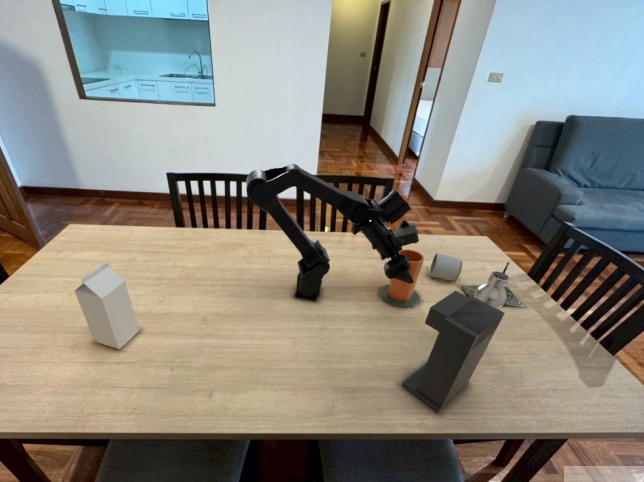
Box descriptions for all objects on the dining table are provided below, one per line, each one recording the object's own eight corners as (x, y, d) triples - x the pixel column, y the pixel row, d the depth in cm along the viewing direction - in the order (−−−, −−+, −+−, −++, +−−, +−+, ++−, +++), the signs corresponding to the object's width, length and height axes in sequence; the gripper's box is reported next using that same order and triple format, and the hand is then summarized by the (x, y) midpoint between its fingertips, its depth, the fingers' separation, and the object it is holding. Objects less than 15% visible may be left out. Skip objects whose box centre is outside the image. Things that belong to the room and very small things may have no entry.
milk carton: (139, 331, 87) (120, 265, 76) (119, 350, 82) (95, 282, 70) (115, 323, 89) (93, 258, 77) (94, 342, 83) (67, 274, 72)
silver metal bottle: (470, 354, 86) (504, 287, 74) (449, 336, 91) (477, 271, 79) (488, 346, 89) (523, 280, 77) (466, 329, 93) (496, 265, 81)
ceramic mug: (456, 286, 110) (464, 264, 105) (429, 280, 111) (436, 259, 107) (453, 269, 118) (461, 249, 114) (428, 264, 120) (435, 244, 115)
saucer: (378, 303, 101) (379, 300, 101) (382, 282, 110) (382, 280, 109) (418, 311, 99) (419, 309, 98) (418, 289, 107) (419, 287, 107)
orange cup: (398, 303, 100) (410, 264, 92) (383, 290, 105) (392, 252, 97) (416, 297, 103) (429, 259, 95) (400, 285, 107) (411, 247, 100)
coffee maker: (399, 384, 78) (425, 310, 65) (430, 359, 84) (459, 287, 71) (437, 413, 72) (474, 338, 59) (467, 385, 78) (506, 311, 66)
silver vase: (505, 286, 111) (524, 249, 103) (524, 307, 103) (546, 268, 95) (460, 286, 110) (475, 249, 102) (475, 307, 102) (493, 267, 94)
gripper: (410, 232, 82) (444, 276, 88) (400, 202, 97) (429, 242, 103) (370, 258, 87) (404, 298, 93) (366, 226, 102) (396, 262, 108)
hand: (409, 273), depth 99 cm, fingers open, 9 cm apart
